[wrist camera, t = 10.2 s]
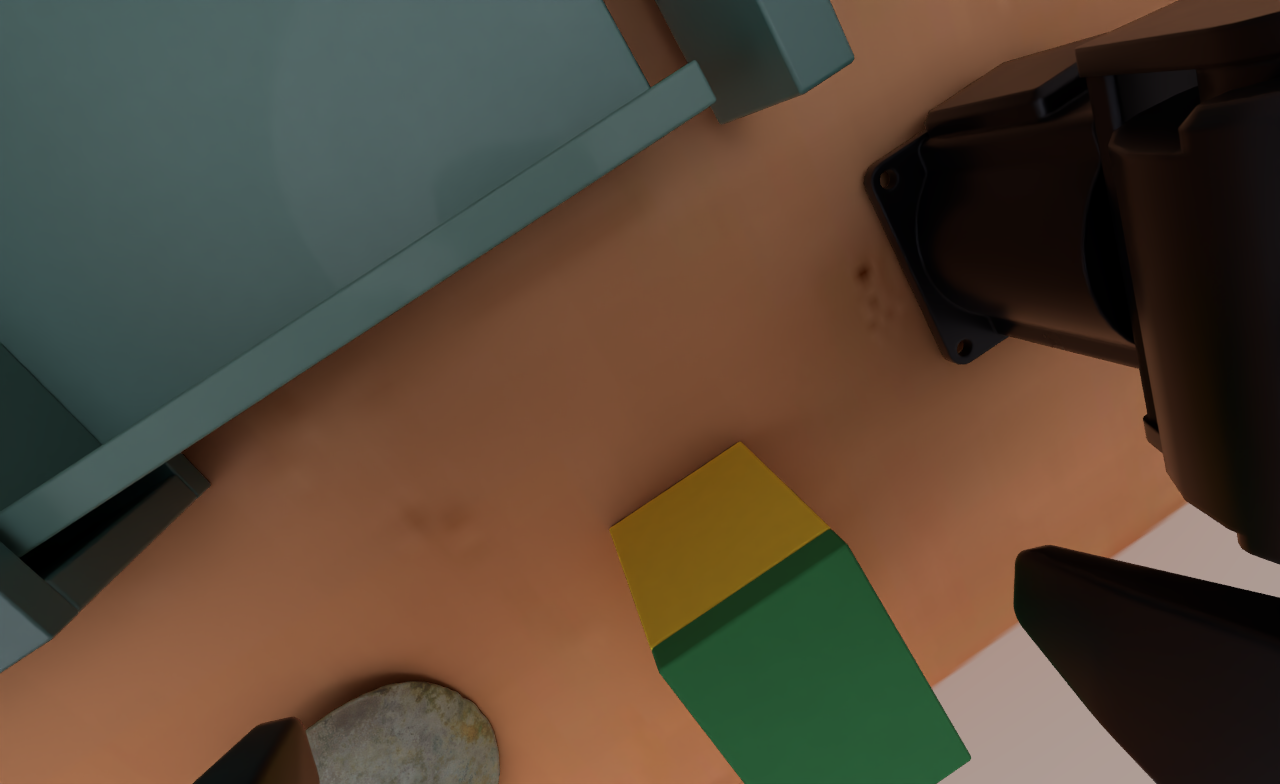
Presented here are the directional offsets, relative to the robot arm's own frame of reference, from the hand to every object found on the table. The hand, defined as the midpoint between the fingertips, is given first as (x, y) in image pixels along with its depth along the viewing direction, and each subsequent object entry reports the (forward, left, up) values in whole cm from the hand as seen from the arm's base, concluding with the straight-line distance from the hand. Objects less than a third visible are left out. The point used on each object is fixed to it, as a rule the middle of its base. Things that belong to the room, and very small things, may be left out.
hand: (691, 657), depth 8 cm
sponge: (-7, -1, -11) cm, 13 cm away
